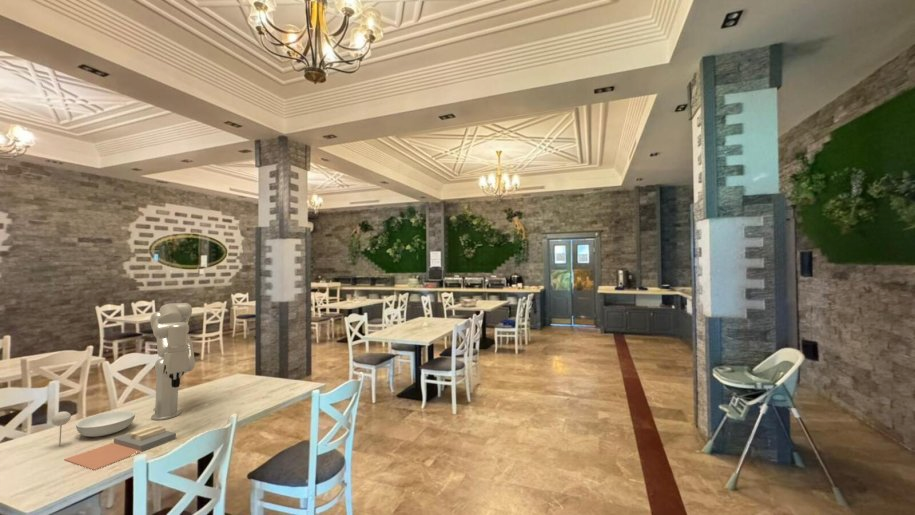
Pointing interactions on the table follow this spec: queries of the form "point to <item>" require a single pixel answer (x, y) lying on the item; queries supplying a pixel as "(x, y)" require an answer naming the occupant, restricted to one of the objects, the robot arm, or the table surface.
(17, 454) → the table surface
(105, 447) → the rust mat
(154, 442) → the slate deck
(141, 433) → the slatted wooden pallet
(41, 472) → the table surface
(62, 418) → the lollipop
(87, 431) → the serving bowl
